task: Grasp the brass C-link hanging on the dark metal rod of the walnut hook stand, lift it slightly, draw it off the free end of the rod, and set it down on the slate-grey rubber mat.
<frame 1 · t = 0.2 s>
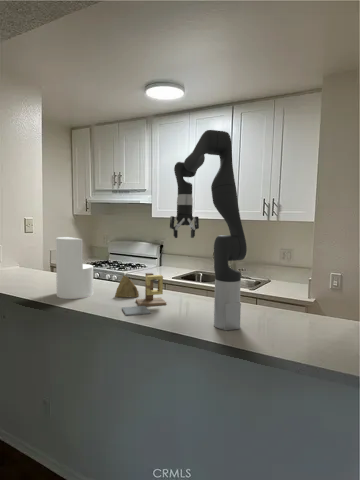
hand: (184, 237, 160), 29 cm above the counter, fingers open, 8 cm apart
rock: (127, 297, 160), on the counter
hook stand: (150, 302, 150), on the counter
slate mat: (135, 311, 137), on the counter
c link: (154, 293, 144), point 5 cm above the counter, touching hook stand
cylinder: (75, 294, 163), on the counter
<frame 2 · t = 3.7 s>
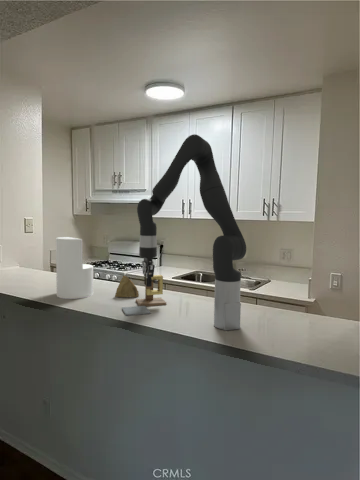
hand: (147, 285, 143), 9 cm above the counter, fingers closed on c link, 3 cm apart
c link: (154, 293, 144), point 6 cm above the counter, touching gripper, hook stand
everything else where it was.
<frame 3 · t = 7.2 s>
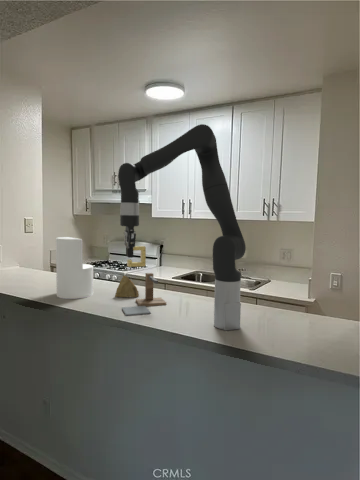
hand: (129, 256, 134), 23 cm above the counter, fingers closed on c link, 3 cm apart
c link: (136, 265, 135), point 19 cm above the counter, touching gripper
everything else where it was.
when the fingers open (5 cm above the counter, at t = 10.6 s): c link stays where it is, resting on slate mat.
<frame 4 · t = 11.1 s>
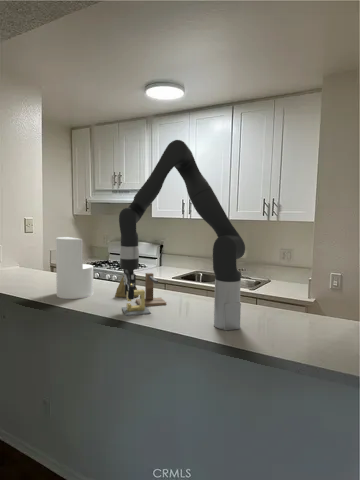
hand: (129, 296, 135), 6 cm above the counter, fingers open, 7 cm apart
c link: (135, 309, 136), point 1 cm above the counter, touching slate mat
everything else where it was.
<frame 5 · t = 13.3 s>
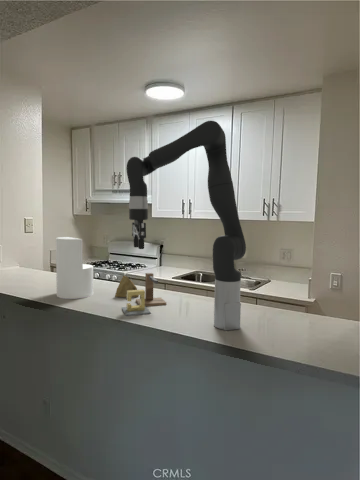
hand: (138, 248, 134), 26 cm above the counter, fingers open, 8 cm apart
nothing on the counter moved.
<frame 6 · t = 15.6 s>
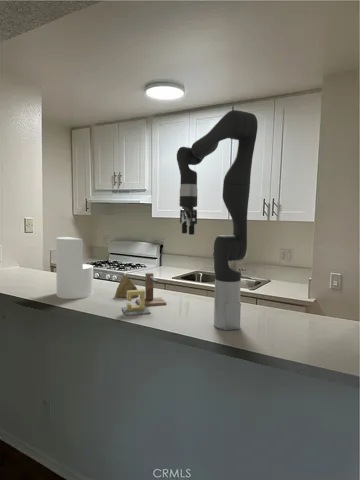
hand: (187, 233, 140), 32 cm above the counter, fingers open, 8 cm apart
nothing on the counter moved.
at the end: c link inside the target area on the slate mat (0.1 cm from its centre), point 0.6 cm above the slate mat's base; c link touching slate mat; the gripper is holding nothing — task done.
